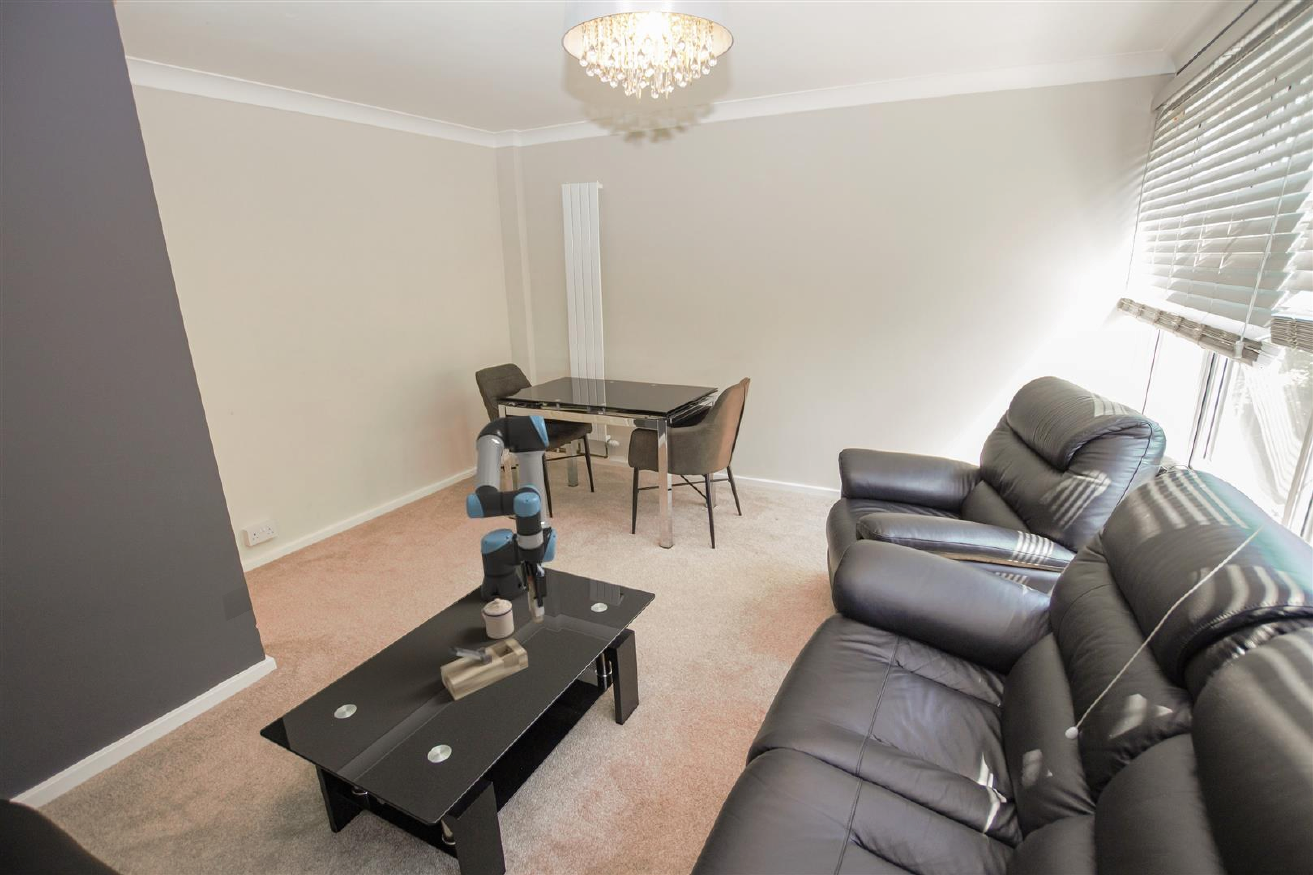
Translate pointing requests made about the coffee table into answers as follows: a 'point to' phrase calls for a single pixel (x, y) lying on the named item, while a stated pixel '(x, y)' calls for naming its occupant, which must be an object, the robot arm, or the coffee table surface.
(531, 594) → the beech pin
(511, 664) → the block
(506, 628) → the teacup with lid
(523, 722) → the coffee table surface
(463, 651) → the lever
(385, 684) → the coffee table surface
